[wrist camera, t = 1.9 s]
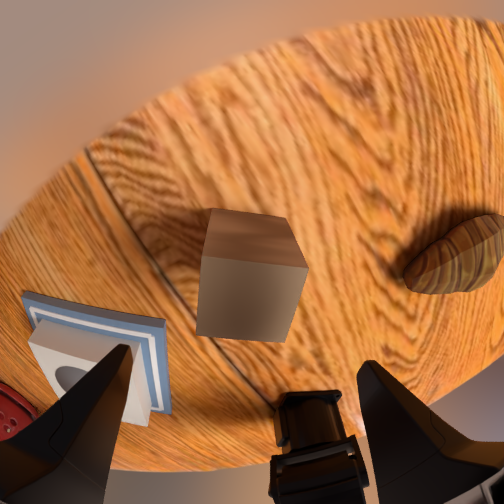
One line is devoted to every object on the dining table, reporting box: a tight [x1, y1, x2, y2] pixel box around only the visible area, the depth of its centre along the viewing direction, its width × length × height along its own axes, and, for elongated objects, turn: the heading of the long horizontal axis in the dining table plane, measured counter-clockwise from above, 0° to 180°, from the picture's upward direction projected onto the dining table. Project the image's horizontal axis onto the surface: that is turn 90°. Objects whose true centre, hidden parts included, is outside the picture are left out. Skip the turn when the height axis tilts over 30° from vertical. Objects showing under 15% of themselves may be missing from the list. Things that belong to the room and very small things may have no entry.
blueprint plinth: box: [21, 291, 172, 427], centre depth 21 cm, size 14×14×4 cm
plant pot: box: [0, 383, 39, 441], centre depth 23 cm, size 13×13×12 cm
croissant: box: [403, 214, 504, 295], centre depth 16 cm, size 14×7×5 cm, turn 112°
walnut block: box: [196, 208, 309, 343], centre depth 15 cm, size 4×4×6 cm
